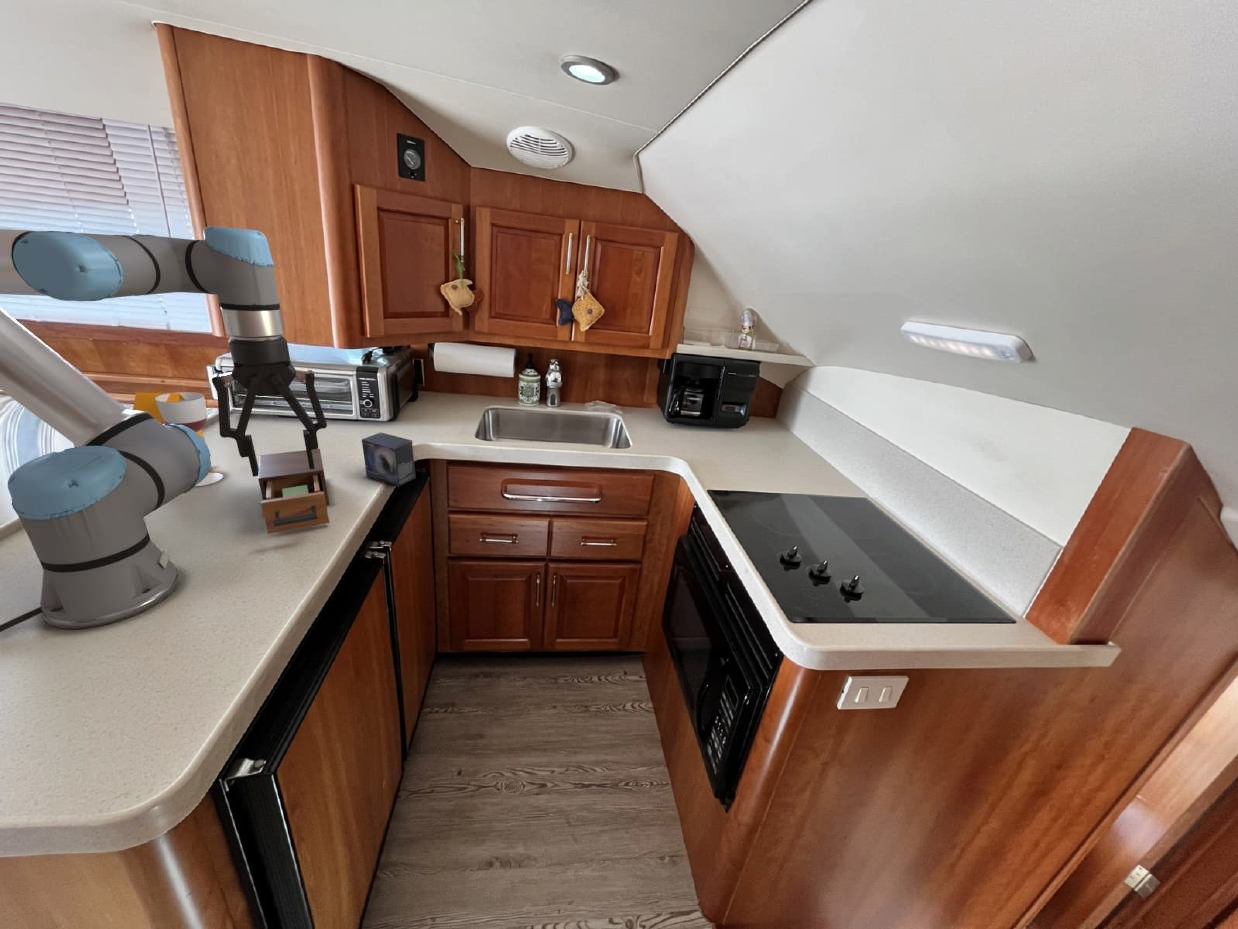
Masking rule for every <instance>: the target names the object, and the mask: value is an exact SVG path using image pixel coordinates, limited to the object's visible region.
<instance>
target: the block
mask: <svg viewBox="0 0 1238 929" xmlns="http://www.w3.org/2000/svg"><path fill="white" fill-rule="evenodd" d="M282 493H283V497H289V496H296V495H302V494H309V493H308V488H307V485H304V486H297V487H291V488H284V489H282Z"/></svg>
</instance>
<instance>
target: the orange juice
mask: <svg viewBox="0 0 1238 929" xmlns="http://www.w3.org/2000/svg"><path fill="white" fill-rule="evenodd" d="M169 393H171V394H170V395H169V397H168V399H167V401H166V402H180V400H179V399H182V400H185V399H184V398H183V397H182V396H181V395H180V394H177V393H178V392H143V391H141V392H140V391H136V392H135V394H134V395H135V396H134V400H133V406H132V411H145V412H148V413H149V414H150V415H152V416H153V417H154V418H155V419H157V420H158V421H159V422H160V423H162V424H166V423H165V421H164V420H163V418H162V416H161V413H160V411H159V408H158V406H157V403H156V400H155V398H156V397H158V396H160V395H164V394H169ZM196 433H197V434H198V435H199V436H200V437H201V438H202V439H203V440H204V441H205V442H206V439H205V436H204V433H203V428H202V429H201V430H199V431H198V432H196ZM212 469H213V467H212V465H211V467H210V470H212Z"/></svg>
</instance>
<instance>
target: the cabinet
mask: <svg viewBox="0 0 1238 929" xmlns="http://www.w3.org/2000/svg"><path fill="white" fill-rule="evenodd" d="M312 455H313V461H314V468H315V469H310V468H309V463H308V457H307V452H306V449H303V450H296V451H295V450H294V451H286V452H277V453H267V454H260V455H259V464H258V468H259V476H257V481H258V485H259V489H260V494H261V499H262V500H266V489H267V481H270V480H278V479H285V478H293V477H300V476H308V475H315V474H317V475H318V481H319V487H320V492H322V491H324V495H325V501H326V507H328V506H330V499H329V494H328V488H327V481H326V476H325V471H324V464H323V458H322V454H321V448H318V449H314V450H312Z"/></svg>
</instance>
